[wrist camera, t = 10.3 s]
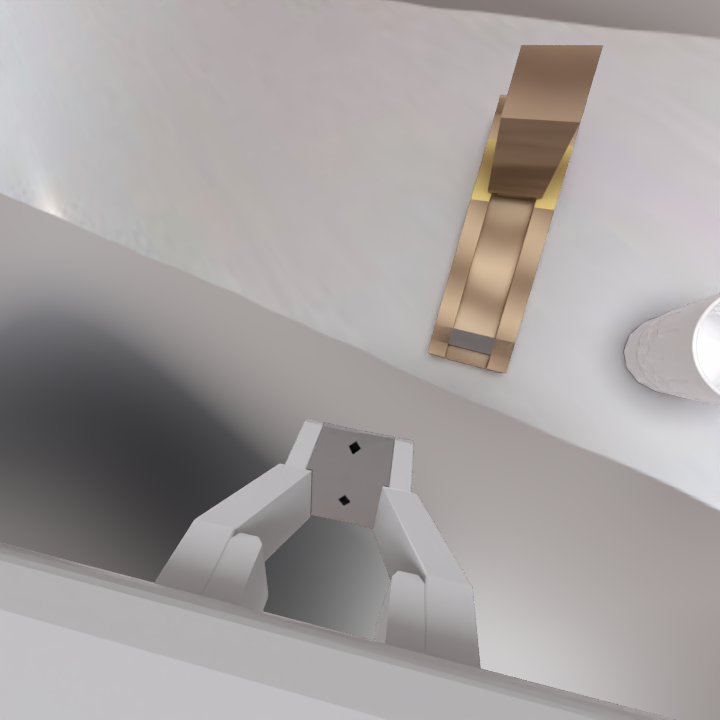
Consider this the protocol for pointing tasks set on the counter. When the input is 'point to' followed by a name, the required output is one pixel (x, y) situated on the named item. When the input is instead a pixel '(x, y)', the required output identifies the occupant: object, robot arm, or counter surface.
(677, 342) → the white cup
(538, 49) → the plate
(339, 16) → the counter surface
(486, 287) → the beam
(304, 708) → the robot arm
